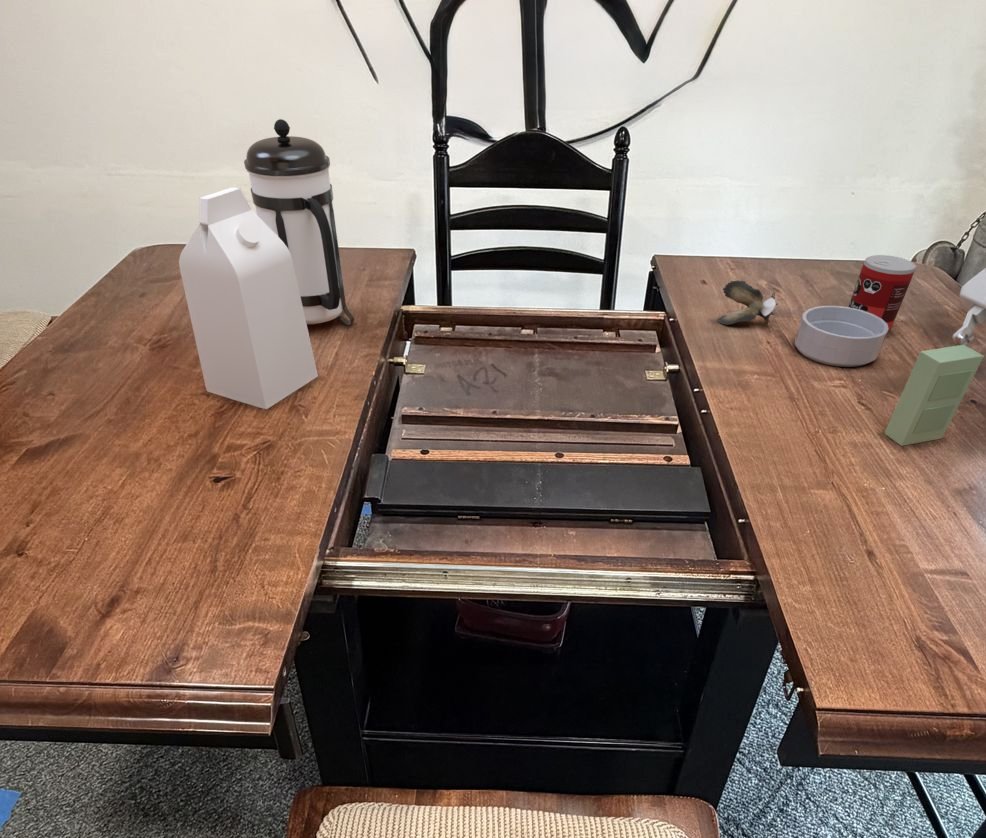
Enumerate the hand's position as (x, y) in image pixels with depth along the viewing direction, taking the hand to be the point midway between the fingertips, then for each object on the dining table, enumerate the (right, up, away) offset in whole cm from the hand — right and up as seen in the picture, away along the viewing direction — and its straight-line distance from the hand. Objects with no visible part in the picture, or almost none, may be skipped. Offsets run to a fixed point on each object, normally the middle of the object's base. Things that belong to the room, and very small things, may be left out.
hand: (984, 356), depth 92 cm
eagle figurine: (-19, +18, +36) cm, 44 cm away
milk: (-99, +1, +16) cm, 100 cm away
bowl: (-7, +10, +27) cm, 30 cm away
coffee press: (-95, +17, +33) cm, 102 cm away
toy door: (-5, -9, +7) cm, 12 cm away
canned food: (+3, +17, +34) cm, 38 cm away
